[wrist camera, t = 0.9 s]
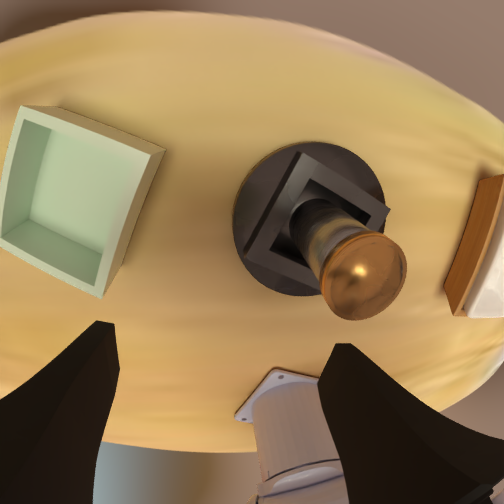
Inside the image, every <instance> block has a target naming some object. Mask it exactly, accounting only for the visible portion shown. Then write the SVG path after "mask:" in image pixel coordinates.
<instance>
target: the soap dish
mask: <svg viewBox="0 0 504 504" xmlns="http://www.w3.org/2000/svg"><path fill="white" fill-rule="evenodd" d="M444 288H445V292H446V295H447V298H448V301H449V305H450V308H451V312H452V314H453V316H468V317H469V318H498V317H504V174H502V175H498V176H494V177H490V178H486V179H482V180H480V181H479V185H478V187H477V192H476V196H475V200H474V203H473V207H472V210H471V213H470V217H469V220H468V223H467V226H466V229H465V232H464V235H463V238H462V241H461V244H460V246H459V249H458V252H457V254H456V257H455V259H454V262H453V265H452V267H451V269H450V272H449V274H448V277H447V278H446V281H445V284H444Z"/></svg>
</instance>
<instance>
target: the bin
mask: <svg viewBox="0 0 504 504" xmlns="http://www.w3.org/2000/svg"><path fill="white" fill-rule="evenodd" d="M165 151H166V149H164V148H162V147H160V146H157V145H155V144H153V143H150V142H148V141H145V140H143V139H141V138H138V137H136V136H133V135H131V134H128V133H126V132H123V131H121V130H118V129H116V128H113V127H111V126H108V125H105V124H103V123H100V122H98V121H95V120H92V119H90V118H87V117H84V116H82V115H79V114H76V113H73V112H70V111H68V110H65V109H62V108H59V107H53V106H29V105H21V106H20V108H19V111H18V114H17V118H16V121H15V124H14V127H13V131H12V134H11V138H10V142H9V146H8V150H7V154H6V158H5V163H4V167H3V172H2V177H1V183H0V247H1V248H3V249H5V250H7V251H8V252H10V253H12V254H13V255H15V256H17V257H19V258H20V259H22V260H24V261H26V262H28V263H29V264H31V265H33V266H35V267H37V268H39V269H40V270H42V271H44V272H46V273H48V274H50V275H52V276H54V277H56V278H58V279H60V280H62V281H64V282H66V283H68V284H70V285H72V286H74V287H76V288H78V289H80V290H82V291H85V292H87V293H89V294H91V295H93V296H95V297H98V298H100V299H102V298H103V296H104V295H105V293H106V291H107V289H108V288H109V286H110V284H111V282H112V281H113V279H114V277H115V276H116V274H117V272H118V271H119V269H120V267H121V265H122V262H123V259H124V256H125V253H126V250H127V247H128V244H129V241H130V238H131V235H132V232H133V230H134V227H135V224H136V221H137V219H138V216H139V213H140V211H141V208H142V205H143V203H144V200H145V198H146V195H147V193H148V190H149V188H150V185H151V183H152V181H153V178H154V176H155V174H156V171H157V169H158V167H159V164H160V162H161V160H162V158H163V155H164V153H165Z"/></svg>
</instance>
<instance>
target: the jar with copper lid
mask: <svg viewBox="0 0 504 504" xmlns="http://www.w3.org/2000/svg"><path fill="white" fill-rule="evenodd" d="M289 232H290V236H291V238H292V240H293V242H294V243H295V245H296V246H297V248H298V249H299V251H300V252H301V254H302V256H303V257H304V259H305V260H306V262H307V263H308V265H309V266H310V268H311V269H312V271H313V273H314V274H315V276H316V277H317V279H318V280H319V286H320V290H321V293H322V295H323V297H324V299H325V301H326V302H327V304H328V306H329V307H330V309H331V310H332V311H333V312H334V313H335V314H336V315H337V316H339V317H341V318H343V319H346V320H363V319H367V318H370V317H372V316H374V315H377V314H378V313H380V312H381V311H383V310H384V309H385V308H387V307H388V306H389V305H390V304H391V303H392V302H393V301H394V299H395V298H396V297H397V295H398V294H399V292H400V291H401V289H402V287H403V284H404V281H405V278H406V272H407V263H406V258H405V255H404V253H403V251H402V249H401V248H400V247H399V246H398V245H397V244H396V243H395V242H393V241H392V240H391V239H389V238H388V237H387V236H385V235H384V234H382V233H379V232H376V231H371V230H369V229H368V228H367V227H365V226H364V225H363V224H361V223H360V222H358V221H357V220H356V219H354V218H353V217H352V216H350V215H349V214H347V213H346V212H345V211H343V210H342V209H340V208H339V207H337V206H336V205H335V204H333V203H332V202H330V201H328V200H326V199H321V198H315V199H310V200H307V201H305V202H303V203H302V204H301V205H299V206H298V207H297V208H296V210H295V211H294V212H293V214H292V216H291V219H290V223H289Z"/></svg>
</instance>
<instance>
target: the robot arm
mask: <svg viewBox="0 0 504 504" xmlns="http://www.w3.org/2000/svg"><path fill="white" fill-rule="evenodd" d="M119 371H120V366H119V359H118V352H117V344H116V336H115V326H114V324H113V323H108V322H102V321H95V322H94V323H93V324H92V325H91V326H89V327H88V328H87V329H86V330H85V331H84V332H83V333H82V334H81V335H80V336H79V337H78V338H76V339H75V340H74V341H73V342H72V343H71V344H70V345H69V346H68V347H67V348H66V349H64V350H63V351H62V352H61V353H60V354H59V355H58V356H57V357H56V358H54V359H53V360H52V361H51V362H50V363H49V364H47V365H46V366H45V367H44V368H43V369H41V370H40V371H39V372H38V373H37V374H35V375H34V376H33V377H32V378H30V379H29V380H28V381H26V382H25V383H24V384H22V385H21V386H20V387H18V388H17V389H15V390H14V391H13V392H11V393H10V394H8V395H7V396H5V397H3V398H2V399H0V504H93V488H94V477H95V468H96V461H97V456H98V451H99V447H100V443H101V440H102V436H103V433H104V429H105V426H106V423H107V419H108V416H109V413H110V409H111V406H112V403H113V400H114V396H115V392H116V387H117V382H118V376H119ZM280 375H281V376H280ZM234 418H235V420H237V421H242V422H248V423H253V426H254V432H255V439H256V445H257V451H258V457H259V463H260V469H261V475H262V481H263V483H259V484H257V488H258V494H254V495H252V496H251V497H250V499H249V501H248V502H247V504H504V489H503V490H501V491H500V492H499V493H498V494H497V495H495V496H494V497H492V498H491V499H490V497H489V496H490V495H491V494H493V489H492V488H493V487H494V486H495V485H496V484H498V483H499V482H500V481H501V480H502V479H503V478H504V440H502V439H498V438H494V437H490V436H487V435H484V434H482V433H479V432H476V431H474V430H472V429H469V428H467V427H465V426H463V425H460V424H459V423H456V422H455V421H453V420H451V419H449V418H447V417H445V416H443V415H441V414H440V413H439V412H437V411H435V410H434V409H432V408H431V407H429V406H427V405H426V404H425V403H423V402H422V401H420V400H419V399H418V398H416V397H415V396H414V395H412V394H411V393H410V392H408V391H407V390H406V389H405V388H403V387H402V386H401V385H400V384H398V383H397V382H396V381H395V380H394V379H392V378H391V377H390V376H389V375H388V374H387V373H385V372H384V371H383V370H382V369H381V368H380V367H379V366H377V365H376V364H375V363H374V362H373V361H372V360H371V359H369V358H368V357H367V356H366V355H365V354H364V353H362V352H361V351H360V350H359V349H357V348H356V347H355V346H354V345H352V344H351V343H336V344H335V346H334V348H333V351H332V353H331V355H330V357H329V359H328V361H327V364H326V366H325V368H324V370H323V372H322V374H321V376H320V378H319V379H318V378H314V377H309V376H305V375H300V374H296V373H292V372H287V371H283V370H279V369H274V370H272V371H271V372H270V373H269V374H268V376H267V377H266V378H265V379H264V381H263V382H262V383H261V384H260V385H259V387H258V388H257V389H256V390H255V392H254V393H253V394H252V395H251V396H250V398H249V399H248V400H247V401H246V402H245V404H244V405H243V406H242V407H241V408H240V409H239V411H238V412H237V413H236V414H235V415H234Z"/></svg>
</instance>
